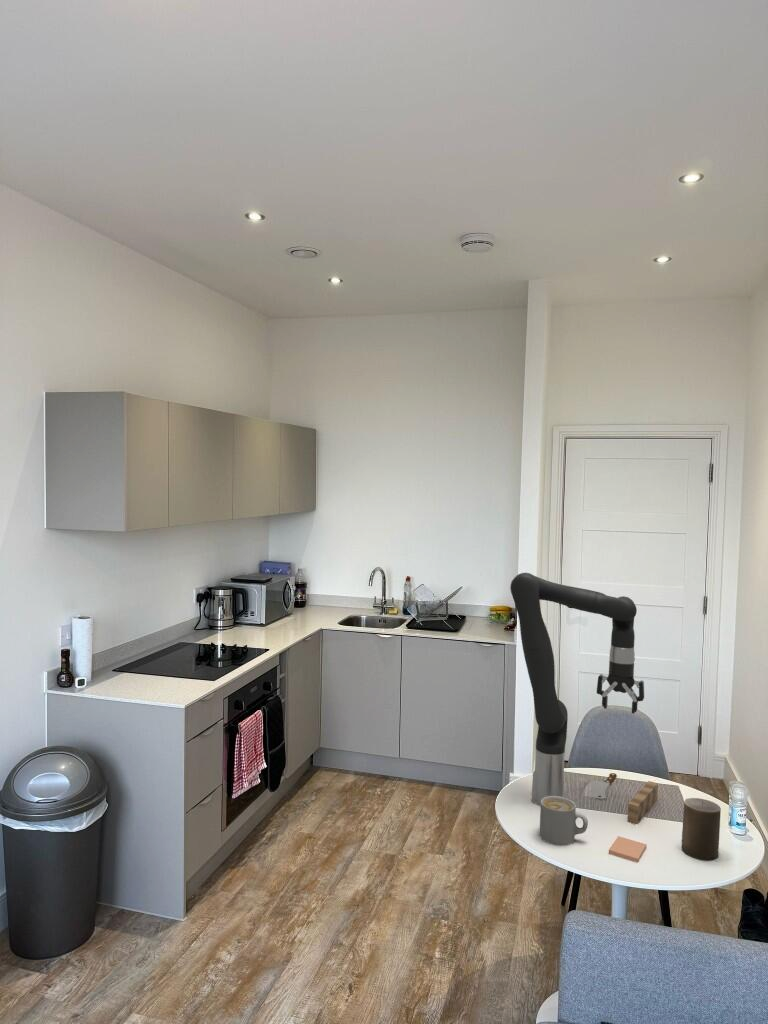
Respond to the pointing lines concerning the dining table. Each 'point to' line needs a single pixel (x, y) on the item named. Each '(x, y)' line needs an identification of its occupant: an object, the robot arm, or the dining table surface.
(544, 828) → the coffee mug
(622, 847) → the tile
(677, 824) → the dining table surface
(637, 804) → the curved tan slat
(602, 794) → the kitchen cleaver
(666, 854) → the dining table surface
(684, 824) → the pillar candle
